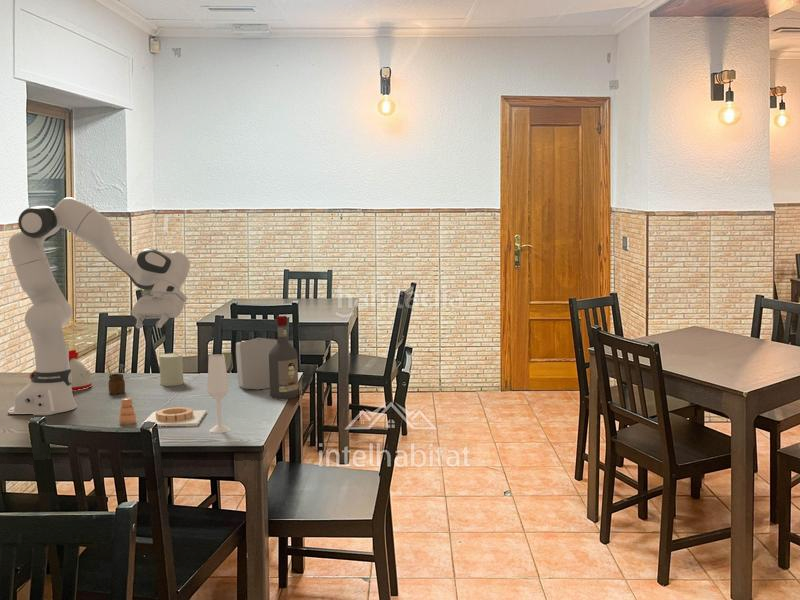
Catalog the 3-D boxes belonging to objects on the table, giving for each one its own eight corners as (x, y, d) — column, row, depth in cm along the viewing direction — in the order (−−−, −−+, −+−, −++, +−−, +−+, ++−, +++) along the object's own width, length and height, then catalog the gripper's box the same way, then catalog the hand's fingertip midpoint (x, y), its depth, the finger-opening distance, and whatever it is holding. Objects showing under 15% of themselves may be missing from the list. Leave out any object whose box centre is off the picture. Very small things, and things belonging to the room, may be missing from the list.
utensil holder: (125, 393, 340) (123, 362, 339) (107, 395, 338) (106, 363, 337) (125, 390, 346) (123, 360, 344) (108, 392, 344) (106, 361, 342)
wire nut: (117, 425, 292) (116, 401, 291) (121, 421, 297) (120, 397, 297) (133, 424, 293) (132, 400, 292) (137, 420, 298) (136, 397, 297)
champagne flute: (211, 427, 287) (208, 353, 284) (232, 427, 287) (229, 353, 284) (206, 433, 281) (203, 357, 278) (227, 432, 280) (224, 357, 278)
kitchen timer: (98, 384, 358) (96, 347, 357) (80, 392, 345) (78, 353, 343) (66, 384, 361) (64, 347, 359) (47, 391, 347) (45, 353, 346)
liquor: (266, 397, 330) (264, 316, 327) (286, 392, 337) (283, 314, 333) (282, 400, 324) (280, 318, 320) (301, 396, 330) (299, 315, 327)
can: (188, 382, 359) (187, 353, 358) (171, 386, 351) (170, 356, 350) (172, 380, 364) (171, 351, 363) (155, 384, 356) (153, 354, 355)
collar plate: (141, 427, 288) (140, 418, 288) (153, 414, 306) (153, 405, 306) (197, 426, 289) (197, 417, 289) (206, 412, 307) (206, 404, 307)
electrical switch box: (272, 386, 359) (269, 336, 360) (280, 387, 345) (277, 336, 346) (236, 389, 354) (232, 339, 355) (243, 391, 340) (239, 339, 341)
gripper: (137, 289, 313) (120, 322, 306) (180, 287, 303) (163, 321, 296) (148, 300, 318) (132, 332, 311) (191, 298, 307) (175, 331, 300)
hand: (147, 327), depth 303 cm, fingers open, 8 cm apart
